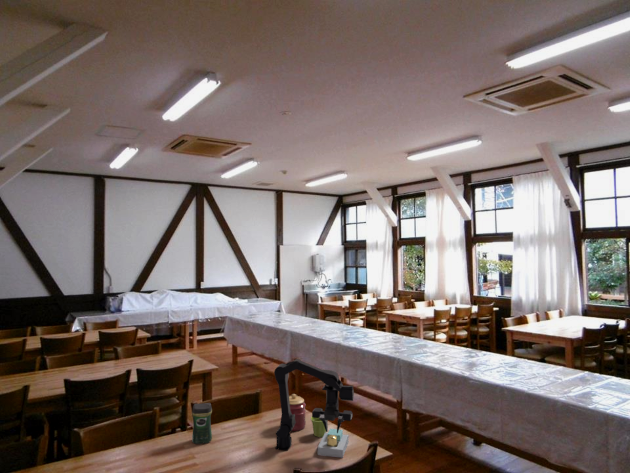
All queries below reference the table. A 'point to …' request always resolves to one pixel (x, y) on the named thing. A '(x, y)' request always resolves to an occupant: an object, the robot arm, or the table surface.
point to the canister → (298, 411)
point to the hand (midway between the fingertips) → (332, 432)
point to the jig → (333, 451)
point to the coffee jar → (201, 423)
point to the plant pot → (318, 427)
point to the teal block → (334, 432)
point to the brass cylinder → (332, 440)
